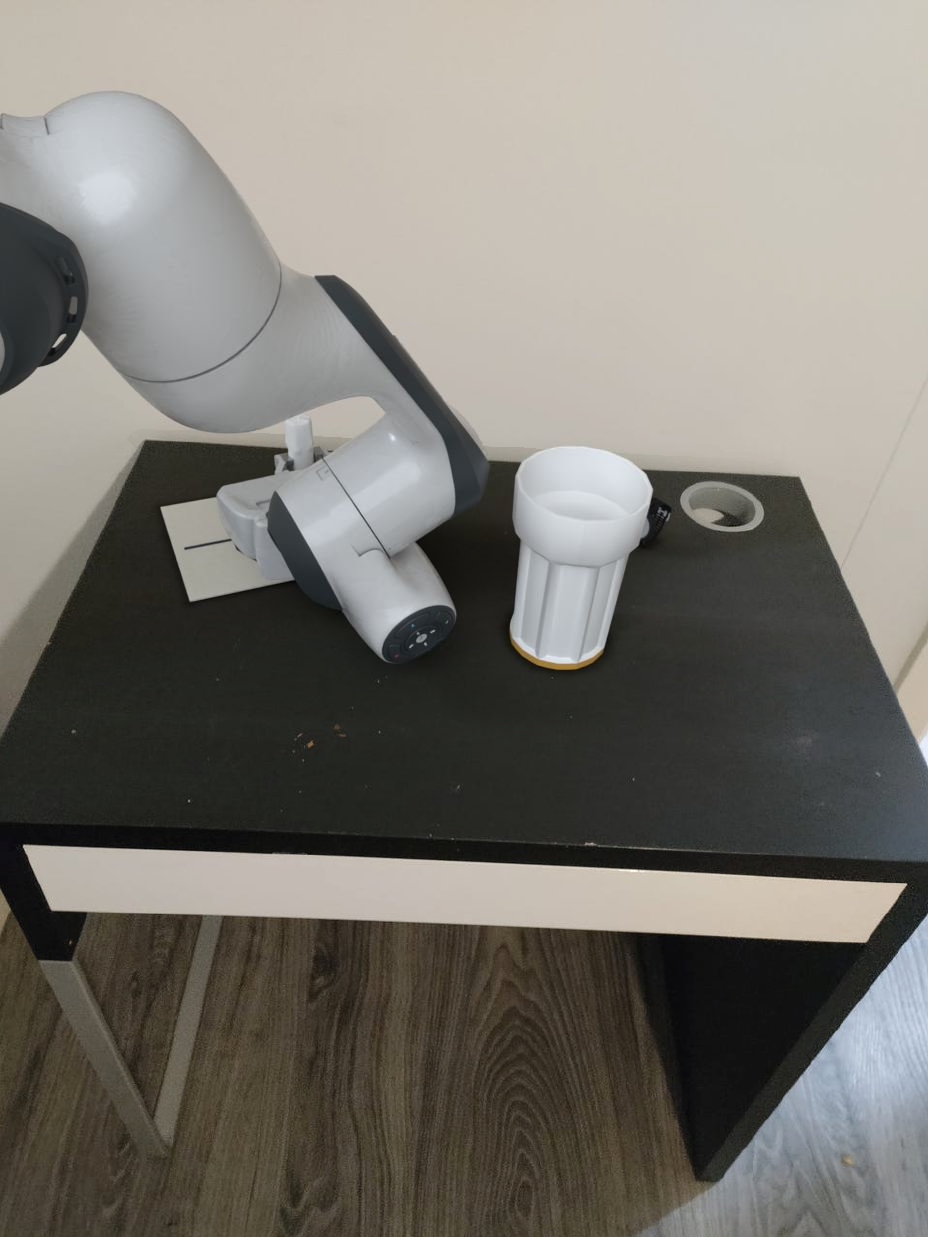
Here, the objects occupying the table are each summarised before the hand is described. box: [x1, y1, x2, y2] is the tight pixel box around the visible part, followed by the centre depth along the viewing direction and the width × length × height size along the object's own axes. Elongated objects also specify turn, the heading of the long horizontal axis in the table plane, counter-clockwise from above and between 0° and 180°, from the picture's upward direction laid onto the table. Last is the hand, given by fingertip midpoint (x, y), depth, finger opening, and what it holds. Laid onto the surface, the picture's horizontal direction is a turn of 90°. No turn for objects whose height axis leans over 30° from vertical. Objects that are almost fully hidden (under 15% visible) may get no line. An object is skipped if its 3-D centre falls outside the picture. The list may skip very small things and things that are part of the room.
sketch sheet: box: [160, 496, 295, 603], centre depth 97 cm, size 20×16×1 cm
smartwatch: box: [638, 496, 673, 547], centre depth 98 cm, size 4×5×5 cm
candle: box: [284, 412, 314, 471], centre depth 95 cm, size 5×5×12 cm
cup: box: [509, 445, 654, 671], centre depth 82 cm, size 11×11×17 cm
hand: (298, 455), depth 95 cm, fingers closed on candle, 2 cm apart
